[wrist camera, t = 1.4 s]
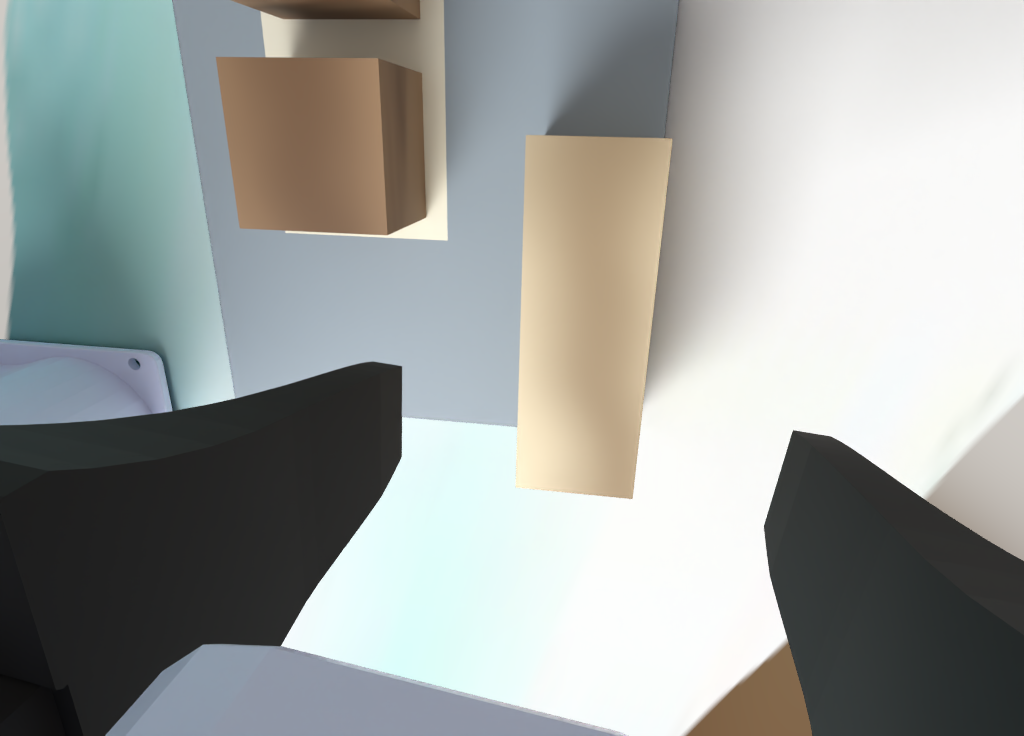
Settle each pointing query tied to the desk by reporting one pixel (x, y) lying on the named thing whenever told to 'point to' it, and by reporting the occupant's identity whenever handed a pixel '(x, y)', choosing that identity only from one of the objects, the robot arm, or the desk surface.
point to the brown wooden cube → (324, 143)
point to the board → (448, 188)
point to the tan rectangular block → (587, 308)
